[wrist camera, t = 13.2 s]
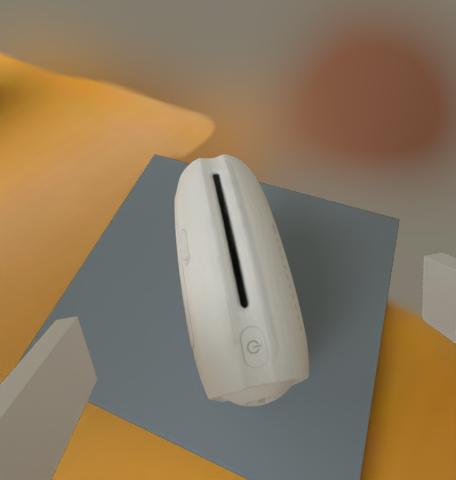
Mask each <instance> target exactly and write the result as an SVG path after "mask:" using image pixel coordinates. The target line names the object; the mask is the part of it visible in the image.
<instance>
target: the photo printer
mask: <svg viewBox="0 0 456 480" xmlns="http://www.w3.org/2000/svg"><path fill="white" fill-rule="evenodd" d="M174 210H175V231H176V244H177V255H178V265H179V274H180V281H181V288H182V296H183V303H184V308H185V315H186V322H187V327H188V332H189V337H190V342H191V347H192V349H193V353H194V358H195V362H196V366H197V369H198V372H199V376H200V379H201V382H202V384H203V387H204V389H205V392H206V394H207V397H208V398H209V399H210V400H216V401H222V402H226V401H230V402H232V403H235V404H238V405H242V406H260V405H264V404H268V403H270V402H272V401H274V400H276V399H278V398H279V397H281V396H282V395H283V394H285V393H286V392H287V391H288V389H289V388H290V387H291V386H292V385H294V384H297V383H299V382H301V381H303V380H305V379H307V378H308V377H309V358H308V347H307V339H306V333H305V328H304V323H303V319H302V315H301V310H300V306H299V302H298V298H297V294H296V290H295V286H294V282H293V279H292V275H291V272H290V268H289V264H288V261H287V258H286V254H285V251H284V248H283V245H282V241H281V238H280V235H279V232H278V229H277V226H276V223H275V220H274V218H273V215H272V212H271V209H270V207H269V204H268V202H267V199H266V197H265V194H264V192H263V190H262V188H261V186H260V184H259V182H258V180H257V178H256V177H255V175H254V174H253V173H252V171H251V170H250V169H249V168H248V167H247V165H246V164H245V163H244V162H242V161H241V160H240V159H238V158H236V157H233V156H230V155H226V154H223V155H220V156H218V157H215V158H209V159H208V158H198V159H196V160H195V161H193V162H192V163H191V164H189V165H188V166H187V167H186V168H185V170H184V171H183V172H182V174H181V176H180V179H179V182H178V186H177V191H176V195H175V209H174Z"/></svg>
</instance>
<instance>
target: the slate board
mask: <svg viewBox="0 0 456 480" xmlns="http://www.w3.org/2000/svg"><path fill="white" fill-rule="evenodd" d="M188 165H189V163H186V162H182V161H178V160H174V159H171V158H167V157H163V156H159V155H156V154H155V155H154V156H153V158H152V159H151V161H150V162H149V164H148V165H147V167H146V168H145V170H144V172H143V173H142V175H141V176H140V178H139V179H138V181H137V182H136V184H135V185H134V187H133V188H132V190H131V191H130V193H129V194H128V196H127V198H126V199H125V201H124V202H123V204H122V205H121V207H120V208H119V210H118V211H117V213H116V214H115V216H114V217H113V219H112V220H111V222H110V223H109V225H108V227H107V228H106V230H105V231H104V233H103V234H102V236H101V237H100V239H99V240H98V242H97V243H96V245H95V246H94V248H93V249H92V251H91V253H90V254H89V256H88V257H87V259H86V260H85V262H84V263H83V265H82V266H81V268H80V269H79V271H78V272H77V274H76V275H75V277H74V279H73V280H72V282H71V283H70V285H69V286H68V288H67V289H66V291H65V292H64V294H63V295H62V297H61V298H60V300H59V301H58V303H57V304H56V306H55V308H54V309H53V311H52V312H51V314H50V315H49V317H48V318H47V320H46V321H45V323H44V324H43V326H42V327H41V329H40V330H39V332H38V334H37V335H36V337H35V338H34V340H33V341H32V343H31V344H30V346H29V347H28V349H27V350H26V352H25V353H24V355H23V356H22V358H21V360H22V359H23V358H24V356H25V355H26V354H27V353H28V352H29V351H30V349H31V348H32V347H33V346H34V345H35V344H36V343H37V341H38V340H39V339H40V338H41V337H42V336H43V334H44V333H45V332H46V331H47V330H48V329H49V328H50V326H51V325H52V324H53V323H54V322H55V321H56V320H59V319H64V318H70V317H76V316H78V319H79V323H80V326H81V329H82V332H83V335H84V339H85V342H86V345H87V348H88V351H89V354H90V358H91V361H92V364H93V367H94V370H95V373H96V377H97V381H96V383H95V385H94V388H93V390H92V392H91V394H90V396H89V399H88V401H87V402H89V403H91V404H93V405H95V406H98V407H100V408H102V409H104V410H106V411H108V412H110V413H112V414H114V415H116V416H118V417H120V418H122V419H124V420H126V421H128V422H130V423H133V424H135V425H137V426H139V427H141V428H143V429H145V430H147V431H149V432H151V433H153V434H155V435H157V436H159V437H161V438H163V439H165V440H168V441H170V442H172V443H174V444H176V445H178V446H180V447H182V448H184V449H186V450H188V451H190V452H192V453H194V454H196V455H198V456H200V457H203V458H205V459H207V460H209V461H211V462H213V463H215V464H217V465H219V466H221V467H223V468H225V469H227V470H229V471H231V472H233V473H235V474H238V475H240V476H242V477H244V478H246V479H248V480H360V476H361V469H362V463H363V456H364V450H365V443H366V436H367V430H368V423H369V417H370V410H371V404H372V397H373V390H374V384H375V377H376V371H377V364H378V358H379V351H380V344H381V338H382V331H383V325H384V318H385V312H386V305H387V298H388V292H389V285H390V279H391V272H392V265H393V259H394V252H395V245H396V239H397V232H398V226H399V219H396V218H392V217H388V216H385V215H381V214H377V213H373V212H370V211H366V210H362V209H359V208H355V207H351V206H347V205H343V204H340V203H336V202H332V201H328V200H324V199H320V198H317V197H313V196H310V195H306V194H302V193H298V192H295V191H290V190H287V189H283V188H280V187H276V186H272V185H268V184H265V183H261V182H259V184H260V186H261V188H262V190H263V192H264V194H265V197H266V199H267V202H268V204H269V207H270V209H271V212H272V215H273V218H274V220H275V223H276V226H277V229H278V232H279V235H280V238H281V241H282V245H283V248H284V251H285V254H286V258H287V261H288V264H289V268H290V272H291V275H292V279H293V282H294V286H295V290H296V294H297V298H298V302H299V306H300V310H301V315H302V319H303V323H304V328H305V333H306V339H307V347H308V358H309V377H308V378H307V379H305V380H303V381H301V382H299V383H297V384H294V385H292V386H291V387H290V388H289V389H288V391H287V392H286V393H285V394H283V395H282V396H281V397H279V398H278V399H276V400H274V401H272V402H270V403H268V404H264V405H260V406H242V405H238V404H235V403H232V402H230V401H226V402H222V401H216V400H210V399H209V398H208V397H207V394H206V392H205V389H204V387H203V384H202V382H201V379H200V376H199V372H198V369H197V366H196V362H195V358H194V353H193V349H192V347H191V342H190V337H189V332H188V327H187V322H186V315H185V308H184V303H183V296H182V288H181V281H180V274H179V265H178V255H177V244H176V231H175V210H174V209H175V195H176V191H177V186H178V182H179V179H180V176H181V174H182V172H183V171H184V170H185V168H186V167H187V166H188ZM21 360H20V361H21ZM20 361H19V362H20Z"/></svg>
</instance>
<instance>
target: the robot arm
mask: <svg viewBox="0 0 456 480" xmlns="http://www.w3.org/2000/svg"><path fill="white" fill-rule="evenodd" d="M423 263H424V264H423V298H422V320H424V321H425V322H426V323H428V324H429V325H430V326H432V327H433V328H434V329H436V330H437V331H439V332H440V333H441V334H443V335H444V336H445V337H447V338H448V339H449V340H451V341H452V342H454V343H455V344H456V258H455V257H453V256H451V255H448V254H446V253H443V252H442V253H437V254H430V255H425V256H424V261H423ZM96 381H97V377H96V373H95V370H94V367H93V364H92V361H91V358H90V354H89V351H88V348H87V345H86V342H85V339H84V335H83V332H82V329H81V326H80V323H79V319H78V316H76V317H70V318H64V319H59V320H56V321H55V322H54V323H53V324H52V325H51V326H50V328H49V329H48V330H47V331H46V332H45V333H44V334H43V336H42V337H41V338H40V339H39V340H38V341H37V343H36V344H35V345H34V346H33V347H32V348H31V349H30V351H29V352H28V353H27V354H26V355H25V356H24V358H23V359H22V360H21V361H20V362H19V363H18V364H17V366H16V367H15V368H14V369H13V370H12V371H11V372H10V374H9V375H8V376H7V377H6V378H5V379H4V381H3V382H2V383H1V384H0V480H52V478H53V476H54V473H55V471H56V469H57V467H58V465H59V462H60V460H61V458H62V456H63V454H64V451H65V449H66V447H67V445H68V443H69V440H70V438H71V436H72V434H73V432H74V429H75V427H76V425H77V423H78V421H79V418H80V416H81V414H82V412H83V410H84V407H85V405H86V403H87V401H88V399H89V396H90V394H91V392H92V390H93V388H94V385H95V383H96Z"/></svg>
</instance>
